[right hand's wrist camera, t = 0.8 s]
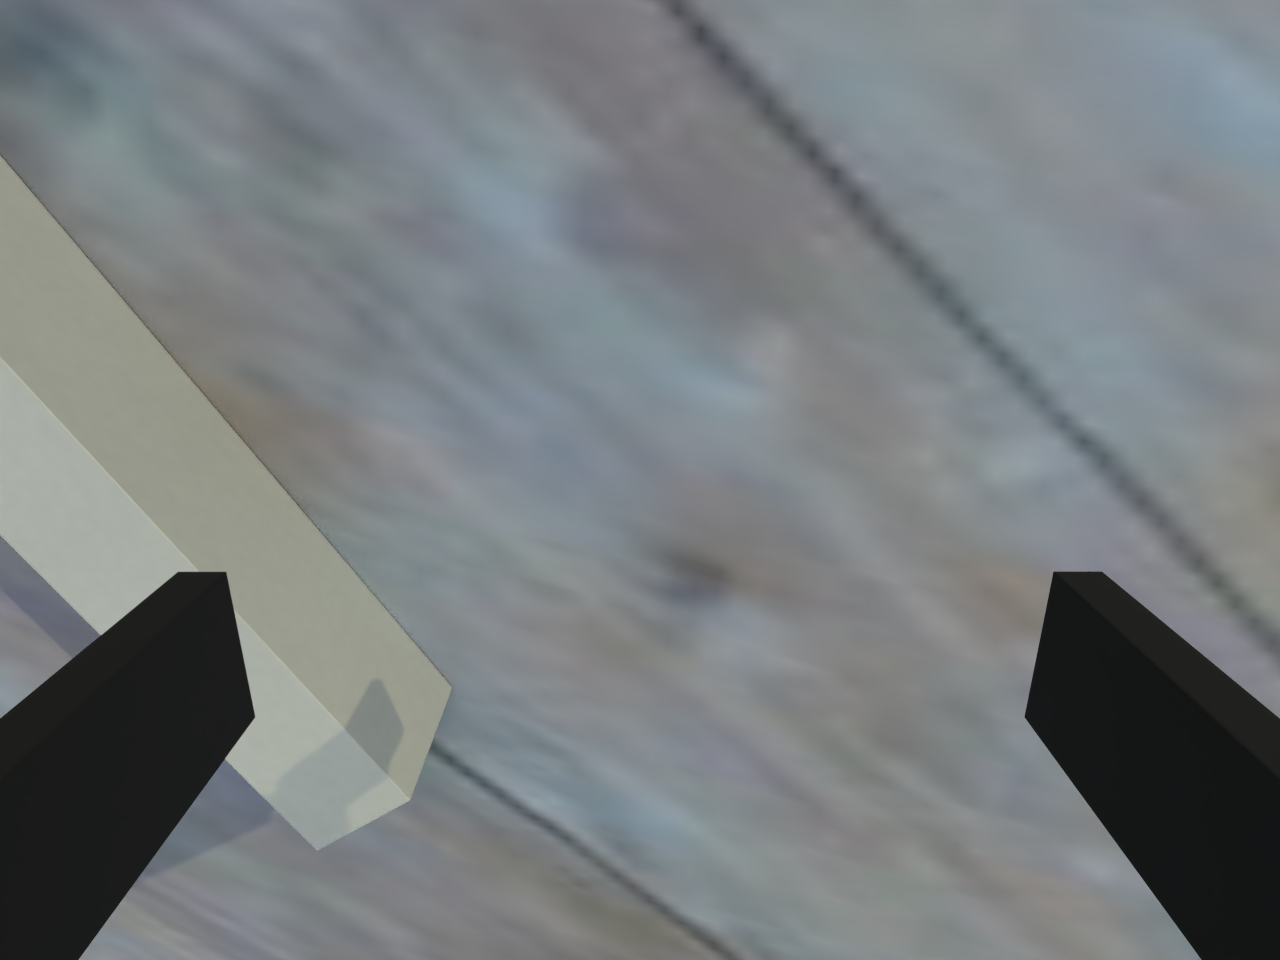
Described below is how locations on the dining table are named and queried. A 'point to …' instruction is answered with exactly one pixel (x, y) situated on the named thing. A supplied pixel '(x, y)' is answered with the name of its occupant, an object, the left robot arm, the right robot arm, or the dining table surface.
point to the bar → (194, 534)
